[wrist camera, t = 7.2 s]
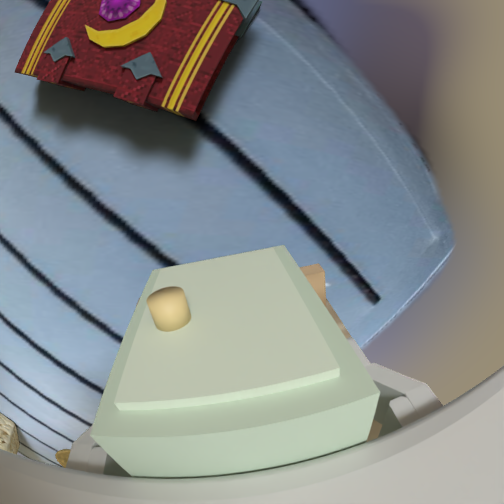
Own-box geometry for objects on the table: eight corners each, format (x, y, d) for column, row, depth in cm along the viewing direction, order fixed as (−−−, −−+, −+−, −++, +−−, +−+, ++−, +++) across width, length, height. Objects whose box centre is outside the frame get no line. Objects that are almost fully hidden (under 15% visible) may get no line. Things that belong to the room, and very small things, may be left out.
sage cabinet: (146, 247, 11) (31, 493, 2) (280, 221, 11) (454, 445, 2) (195, 386, 14) (199, 565, 5) (296, 367, 14) (359, 539, 5)
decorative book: (197, 126, 19) (191, 121, 14) (31, 80, 15) (-3, 73, 10) (260, 6, 16) (272, -24, 11) (91, -27, 11) (71, -51, 7)
